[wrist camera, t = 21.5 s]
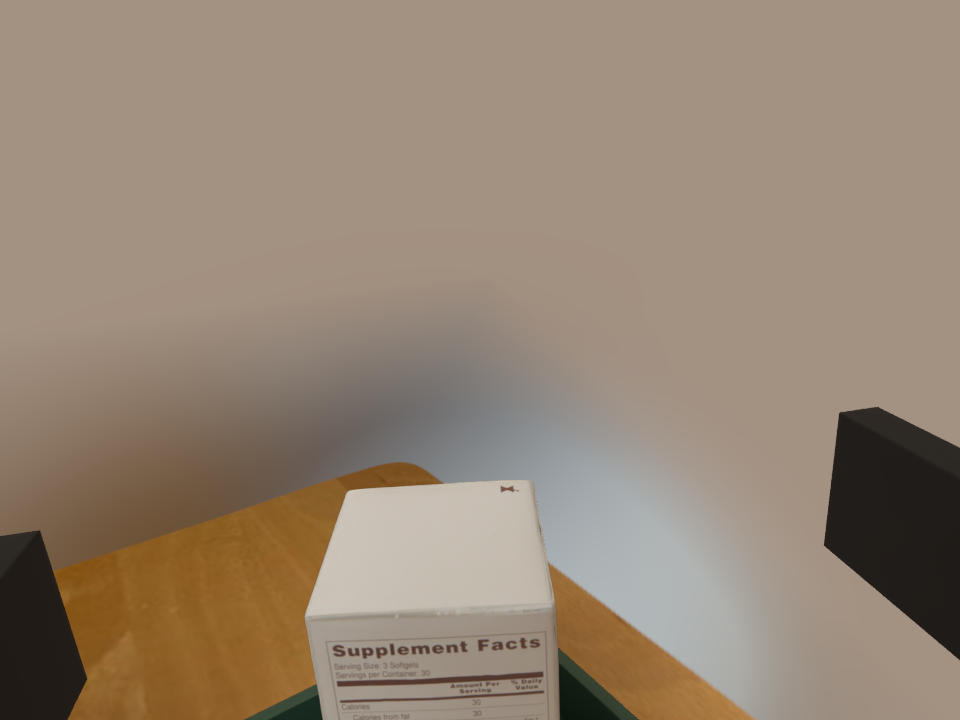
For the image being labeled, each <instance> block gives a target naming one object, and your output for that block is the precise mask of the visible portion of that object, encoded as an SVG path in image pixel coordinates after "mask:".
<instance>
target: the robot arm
mask: <svg viewBox="0 0 960 720" xmlns="http://www.w3.org/2000/svg"><path fill="white" fill-rule="evenodd" d="M824 546H825V547H826V548H828V549H829V550H830V551H831V552H832V553H833V554H835V555H836V556H837V557H838V558H839V559H841V560H842V561H843V562H844V563H845V564H846V565H848V566H849V567H850V568H851V569H853V570H854V571H855V572H856V573H857V574H858V575H860V576H861V577H862V578H863V579H864V580H866V581H867V582H868V583H869V584H870V585H871V586H873V587H874V588H875V589H876V590H877V591H879V592H880V593H881V594H882V595H883V596H884V597H886V598H887V599H888V600H889V601H890V602H892V603H893V604H894V605H895V606H896V607H898V608H899V609H900V610H901V611H902V612H903V613H905V614H906V615H907V616H908V617H909V618H910V619H912V620H913V621H914V622H915V623H916V624H918V625H919V626H920V627H921V628H922V629H924V630H925V631H926V632H927V633H928V634H930V635H931V636H932V637H933V638H934V639H935V640H937V641H938V642H939V643H940V644H941V645H942V646H944V647H945V648H946V649H947V650H948V651H950V652H951V653H952V654H953V655H954V656H956V657H957V658H958V659H959V660H960V448H959V447H957V446H955V445H953V444H951V443H949V442H947V441H945V440H943V439H941V438H939V437H937V436H935V435H933V434H931V433H929V432H927V431H925V430H923V429H921V428H919V427H916V426H915V425H913V424H911V423H909V422H907V421H905V420H903V419H901V418H899V417H897V416H895V415H893V414H891V413H889V412H887V411H884V410H883V409H880V408H879V407H874V408H868V409H860V410H854V411H847V412H840V413H839V420H838V428H837V437H836V446H835V456H834V464H833V472H832V480H831V489H830V498H829V506H828V515H827V524H826V532H825V541H824ZM86 680H87V677H86V674H85V671H84V667H83V664H82V661H81V658H80V655H79V652H78V649H77V645H76V642H75V639H74V636H73V633H72V630H71V627H70V623H69V620H68V617H67V614H66V611H65V608H64V605H63V601H62V598H61V595H60V592H59V589H58V586H57V583H56V579H55V576H54V573H53V570H52V567H51V564H50V561H49V557H48V554H47V551H46V548H45V545H44V542H43V539H42V536H41V533H40V531H32V532H26V533H19V534H12V535H6V536H0V720H67V719H68V717H69V715H70V713H71V711H72V709H73V707H74V705H75V703H76V701H77V699H78V697H79V695H80V693H81V691H82V689H83V686H84V684H85V682H86Z"/></svg>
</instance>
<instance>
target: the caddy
mask: <svg viewBox="0 0 960 720" xmlns="http://www.w3.org/2000/svg"><path fill="white" fill-rule="evenodd" d="M558 665H559V711H560V720H639V719H637V718H636V717H635V716H634V715H633V714H632V713H631V712H630V711H629V710H627V709H626V708H625V707H624V706H623V705H622V704H621V703H620V702H618V701H617V700H616V699H615V698H614V697H613V696H612V695H611V694H610V693H608V692H607V691H606V690H605V689H604V688H603V687H602V686H601V685H599V684H598V683H597V682H596V681H595V680H594V679H593V678H592V677H590V676H589V675H588V674H587V673H586V672H585V671H584V670H583V669H582V668H580V667H579V666H578V665H577V664H576V663H575V662H574V661H573V660H571V659H570V658H569V657H568V656H567V655H566V654H565V653H564V652H563V651H561V650H560V649H559V648H558ZM245 720H323V717H322V711H321V705H320V698H319V693H318V688H317V684H316V685H314V686H312V687H310V688H308V689H306V690H304V691H302V692H300V693H298V694H296V695H294V696H292V697H290V698H288V699H285V700H283V701H281V702H279V703H277V704H275V705H273V706H271V707H269V708H267V709H265V710H263V711H261V712H259V713H257V714H255V715H253V716H251V717H249V718H247V719H245Z"/></svg>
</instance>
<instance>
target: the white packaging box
mask: <svg viewBox="0 0 960 720" xmlns="http://www.w3.org/2000/svg"><path fill="white" fill-rule="evenodd" d="M305 622H306V626H307V632H308V637H309V643H310V648H311V655H312V661H313V665H314V671H315V677H316V683H317V688H318V693H319V698H320V705H321V711H322V717H323V720H560V711H559V665H558V643H557V625H556V608H555V600H554V594H553V589H552V583H551V578H550V573H549V567H548V562H547V556H546V551H545V545H544V538H543V530H542V527H541V524H540V518H539V513H538V507H537V501H536V495H535V489H534V483H533V482H532V481H528V480H502V481H483V482H482V481H481V482H466V483H451V484H437V485H419V486H403V487H385V488H370V489H359V490H351V491H349V492H347V494H346V496H345V499H344V502H343V505H342V508H341V511H340V514H339V516H338V519H337V522H336V525H335V528H334V531H333V534H332V537H331V540H330V543H329V546H328V549H327V552H326V554H325V557H324V560H323V563H322V566H321V569H320V572H319V575H318V578H317V581H316V584H315V587H314V590H313V593H312V596H311V599H310V602H309V605H308V608H307V611H306V613H305Z"/></svg>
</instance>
